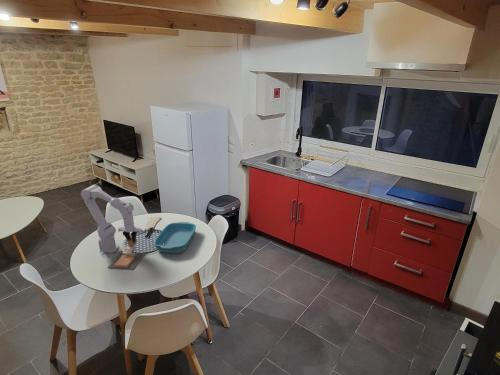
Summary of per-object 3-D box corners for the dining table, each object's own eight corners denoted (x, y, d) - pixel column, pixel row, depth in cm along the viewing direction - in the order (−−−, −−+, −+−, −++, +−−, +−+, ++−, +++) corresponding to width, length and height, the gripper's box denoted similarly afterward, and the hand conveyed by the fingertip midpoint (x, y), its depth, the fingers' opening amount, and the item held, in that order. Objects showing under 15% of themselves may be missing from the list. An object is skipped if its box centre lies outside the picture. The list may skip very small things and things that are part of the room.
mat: (107, 268, 188) (107, 267, 187) (122, 251, 204) (121, 250, 204) (133, 269, 186) (133, 269, 186) (145, 253, 203) (145, 252, 203)
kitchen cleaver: (149, 217, 249) (161, 215, 249) (149, 219, 250) (161, 217, 249) (136, 237, 220) (150, 235, 220) (137, 239, 221) (151, 238, 220)
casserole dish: (170, 228, 234) (169, 220, 231) (199, 230, 231) (199, 221, 229) (150, 256, 199) (148, 246, 197) (184, 258, 197) (183, 249, 194)
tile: (122, 257, 197) (114, 266, 188) (122, 255, 197) (114, 264, 187) (134, 258, 196) (127, 267, 187) (134, 255, 196) (127, 265, 187)
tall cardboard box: (130, 241, 205) (128, 235, 202) (139, 241, 204) (137, 235, 202) (122, 253, 195) (120, 247, 192) (131, 254, 194) (130, 248, 192)
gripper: (142, 220, 198) (145, 238, 203) (120, 218, 199) (123, 237, 204) (137, 225, 192) (140, 244, 197) (115, 224, 193) (118, 243, 198)
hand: (131, 241), depth 200 cm, fingers closed on tall cardboard box, 3 cm apart
